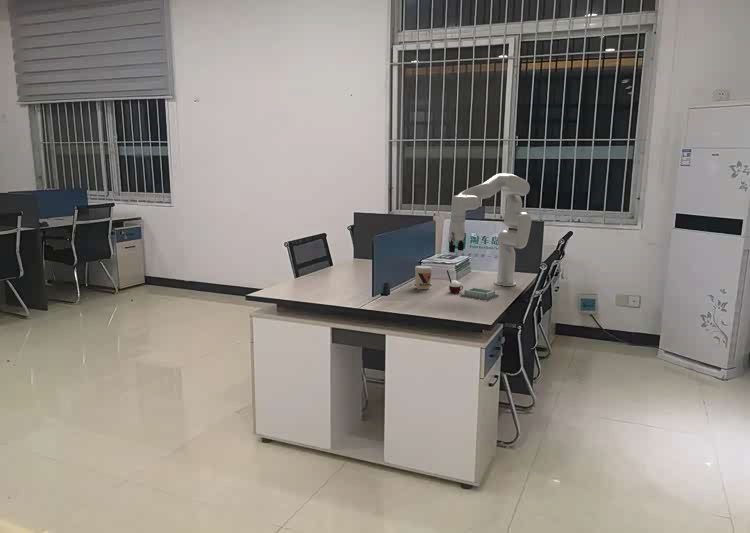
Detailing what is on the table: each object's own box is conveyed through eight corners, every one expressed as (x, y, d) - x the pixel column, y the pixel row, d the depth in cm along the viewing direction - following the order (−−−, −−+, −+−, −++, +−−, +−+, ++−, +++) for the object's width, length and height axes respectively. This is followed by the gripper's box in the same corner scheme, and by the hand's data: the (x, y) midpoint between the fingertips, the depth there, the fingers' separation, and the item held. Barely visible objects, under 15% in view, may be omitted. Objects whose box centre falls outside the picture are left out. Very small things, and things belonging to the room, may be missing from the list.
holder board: (472, 292, 313) (472, 286, 313) (498, 296, 305) (498, 290, 304) (460, 296, 302) (460, 290, 301) (487, 301, 293) (487, 294, 293)
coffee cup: (417, 290, 314) (418, 268, 312) (411, 286, 323) (412, 265, 321) (433, 289, 317) (434, 268, 315) (427, 286, 325) (428, 265, 323)
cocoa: (462, 292, 314) (464, 270, 312) (462, 294, 308) (464, 272, 306) (445, 290, 316) (447, 268, 314) (444, 292, 310) (446, 270, 308)
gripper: (459, 217, 314) (457, 249, 317) (443, 219, 300) (442, 252, 303) (471, 218, 310) (469, 250, 313) (456, 220, 296) (454, 253, 299)
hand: (456, 251), depth 308 cm, fingers open, 9 cm apart
